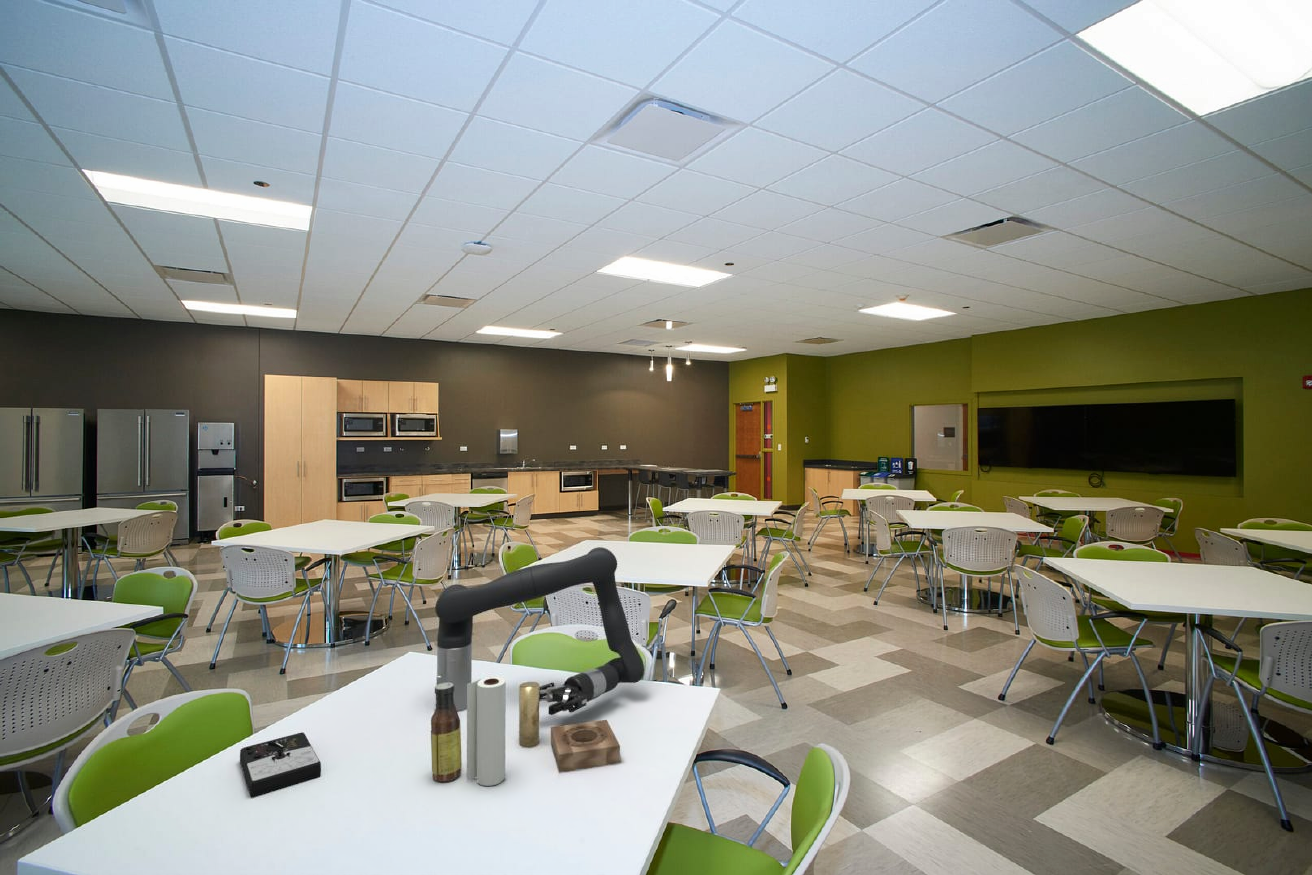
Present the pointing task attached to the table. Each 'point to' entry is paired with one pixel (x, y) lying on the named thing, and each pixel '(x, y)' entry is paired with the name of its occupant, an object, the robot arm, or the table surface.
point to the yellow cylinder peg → (529, 714)
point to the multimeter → (279, 764)
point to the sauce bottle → (445, 735)
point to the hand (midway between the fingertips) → (538, 705)
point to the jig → (584, 745)
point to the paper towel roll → (486, 730)
